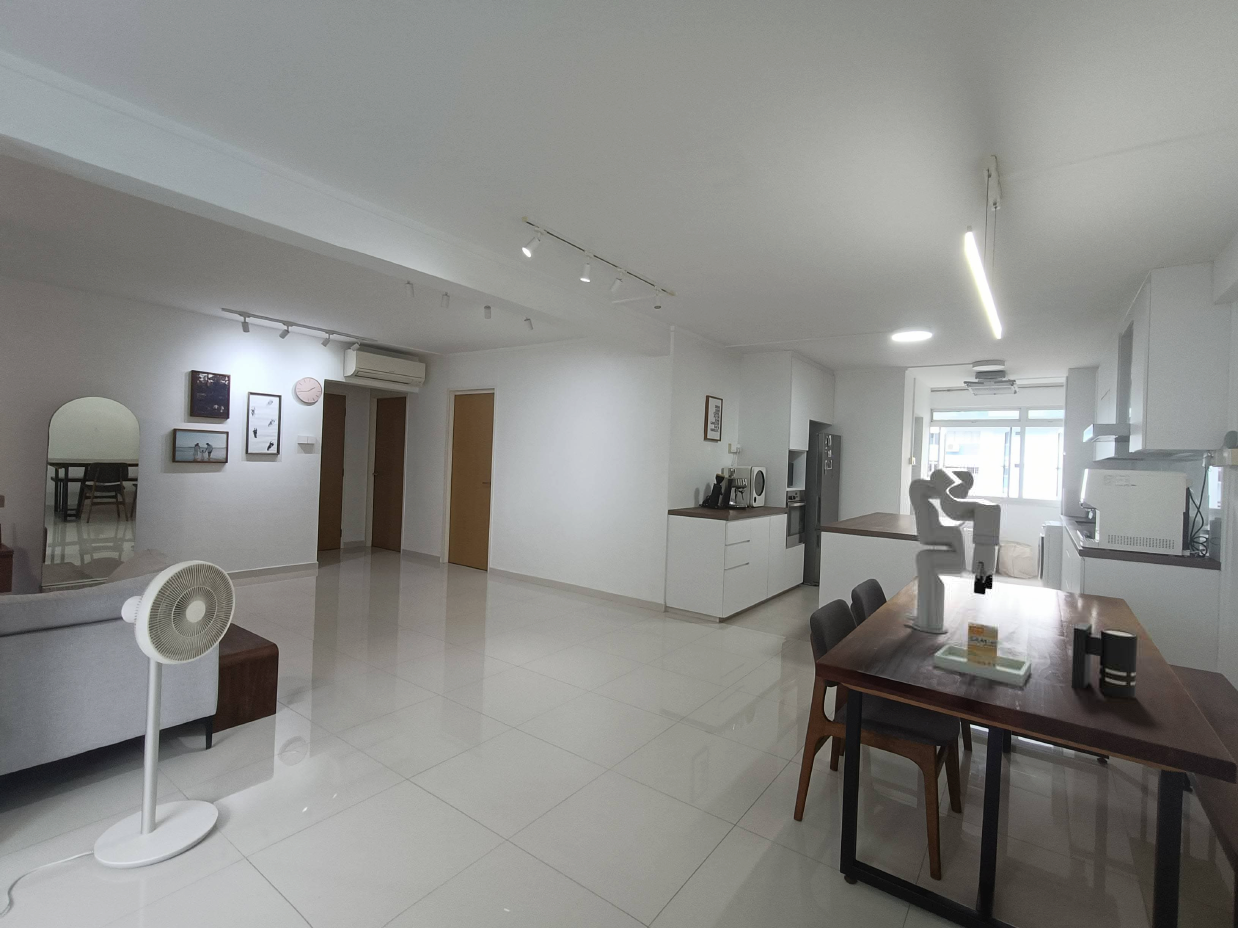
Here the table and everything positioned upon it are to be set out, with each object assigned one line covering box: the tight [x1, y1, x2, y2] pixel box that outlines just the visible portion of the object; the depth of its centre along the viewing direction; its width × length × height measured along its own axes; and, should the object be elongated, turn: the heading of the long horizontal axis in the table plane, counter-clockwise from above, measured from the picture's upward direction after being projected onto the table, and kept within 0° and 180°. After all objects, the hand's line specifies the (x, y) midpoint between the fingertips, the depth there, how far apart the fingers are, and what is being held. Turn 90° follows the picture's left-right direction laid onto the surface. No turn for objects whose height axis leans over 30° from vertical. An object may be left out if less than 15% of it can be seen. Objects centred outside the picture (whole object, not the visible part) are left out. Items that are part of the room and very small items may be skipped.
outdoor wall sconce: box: [1071, 621, 1138, 700], centre depth 173 cm, size 10×14×18 cm
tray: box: [933, 643, 1032, 687], centre depth 189 cm, size 24×16×4 cm, turn 47°
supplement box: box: [966, 621, 999, 668], centre depth 189 cm, size 8×5×13 cm, turn 58°
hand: (983, 590), depth 195 cm, fingers open, 9 cm apart
